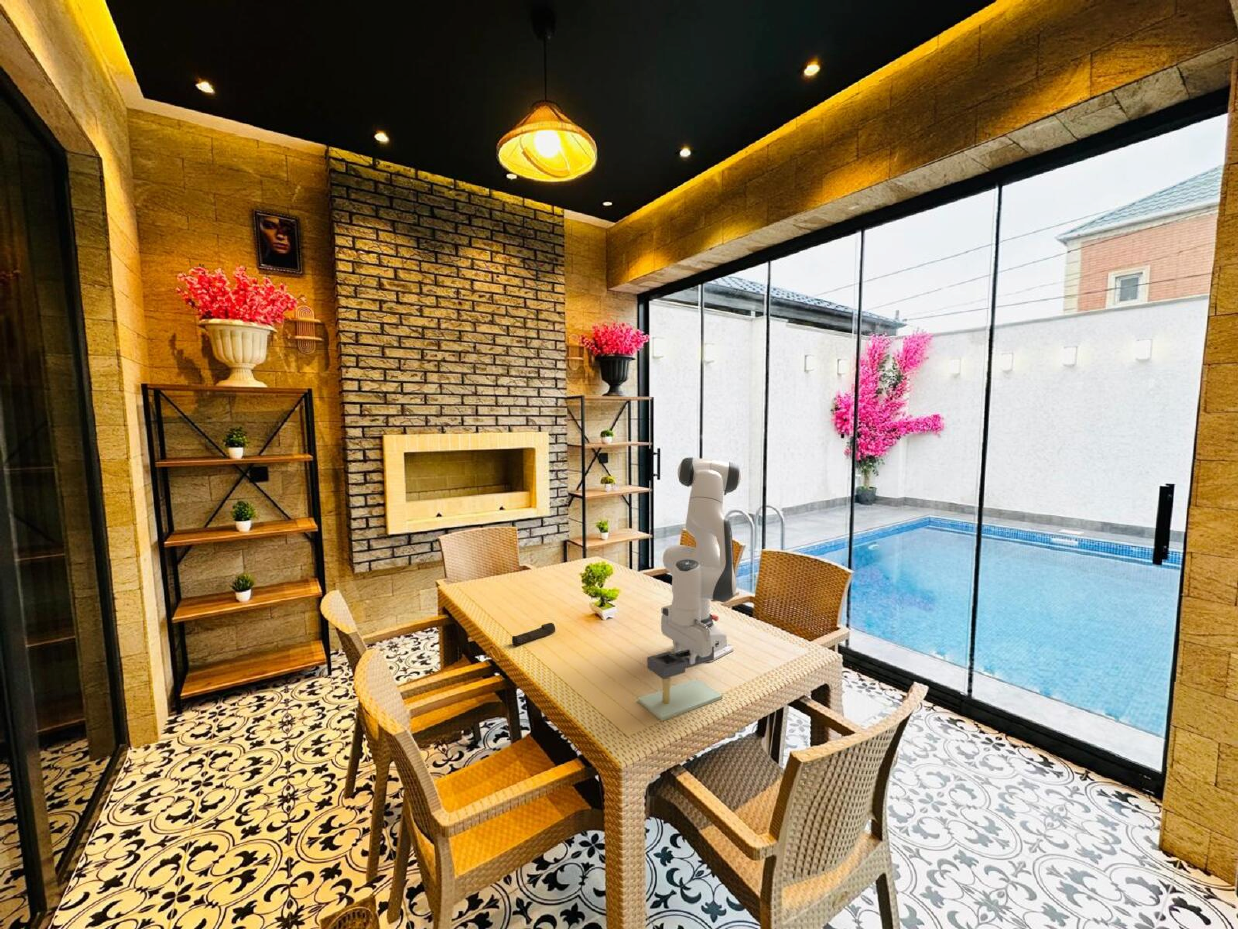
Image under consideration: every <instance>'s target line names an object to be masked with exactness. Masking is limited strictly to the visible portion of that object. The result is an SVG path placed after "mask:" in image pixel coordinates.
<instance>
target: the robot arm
mask: <svg viewBox="0 0 1238 929" xmlns="http://www.w3.org/2000/svg"><path fill="white" fill-rule="evenodd" d="M677 478H678V481H679V483H680V484H681V485H682V486H685V487H688V488H690V487H691V489H690V494H689V500H688V506H687V507H688V508H687V513H686V520H685V521H686V522H685V529H686V531H687V533H688V534H689V535H690V536H691V537H693V538H694V540H695V546H690V545H684V544H675V545H669V546H668V547H667V548H666V549H665V550H664V552H663V555H662V562H663V566H664V568H665V569H666V571H667V572H668V573H669V574H670V575H671V576H672V577H671V578H672V581H671V593H672V601H671V604H668V605H666V606H662V607H661V610H660V613H661V614H662V615H661V617H660V618H661V619H660V630H661V633H662V635H664V636H665V637H667V638H668V639H670V640H672V644H673V648H674V649H673V651H674V653H677V652H680V651H684V650H687V649H688V650H690V654H691V655H690V657H688V661H687V662H688V663H690V664H694V663H695V658H696V656H697V655H699V656H700V657H706V656H709V655H710V654H711V653H712V649H713V650H714V660H712V661H709V662H708V663H711V662H713V661H716V660H717V659H720V658H722V657H723V656H725V655H728V654H730V653H731V652H733V651H734V646H733V645H732V644H731V643H730V642H729V641H728V638H727V635H726V632H725V631H724V630H723V629H721V628H720V627H719V626H718V625H716V623H714V622H718V621H719V615H716V614H712V613H711V612H710V611H711V600H713V601H716V602H720V603H725V604H726V603H727V602H729V601H730V600H732V599H733V598H734V597H735V596H736V592H737V586H738V585H737V578H736V572H735V560H734V558H735V557H734V545H733V544H734V543H733V534H732V533H733V532H732V526H731V522H730V520H729V519H728V518H727V517H725V515H724V512H723V504H724V496H726V495H727V494H729V493H732V492H734V491H736V490H737V488H738V487H739V485H740V483H741V478H742V477H741V471H740V467H739V465H738V464H736V463H733V462H731V461H729V462H727V461H725V460H724V461H723V460H718V459H713V458H711V459H709V458H695V457H692V456H691V457H685V458H683V459H682V460H681V462H680V464H679V465H678V468H677Z"/></svg>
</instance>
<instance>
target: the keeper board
mask: <svg viewBox="0 0 1238 929" xmlns="http://www.w3.org/2000/svg"><path fill="white" fill-rule="evenodd" d="M671 682H672V679H671V677H669V678H666V679H662V678H661V683H662V689H661V690H658V691H655V692H652V693H649V694H645V695H642V696H639V697H637V702H638V703H640V705H642V706H643V707H644V708H646V709H647V710H648V711H649V712H650V713H651V714H653V715H654V716H655V717H656V718H658V719H659V720H660V721H661V722H663V721H666V720H669V719H672V718H674V717H677V716H679V715H682V714H685V713H687V712H690V711H692V710H696V709H698V708H700V707H703V706H706V705H709V704H712V703H714V702H716V701H719V700H723V695H722V694H721V693H719V692H718V691H717V690H715V689H713V688H712V687H711V686H709V685H708V684H706V683H705V682H703V681H702V680H700V679H699V678H694V679H690V680H687V681H685V682H682V683H679V684H675V685H674V686H671Z"/></svg>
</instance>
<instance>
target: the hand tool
mask: <svg viewBox="0 0 1238 929" xmlns="http://www.w3.org/2000/svg"><path fill="white" fill-rule="evenodd" d="M555 632H556V625H555V624H554V623H553V622H548V623H545V624H544V623H543V624H542V625H541V627H539V628H536V629H533V630H530V631H527V632H523V633H521V634H518V635H512V638H511V643H512V645H513V646H515V647H516V648H517V647H518V646H521V645H523V644H525V643H527V642H530V641H534V640H536V639H539V638H542V637H543V638H547V637H549V636H551V635H553V634H555Z"/></svg>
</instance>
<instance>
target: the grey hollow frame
mask: <svg viewBox="0 0 1238 929" xmlns="http://www.w3.org/2000/svg"><path fill="white" fill-rule="evenodd" d="M690 655H691V654H690V650H688V649H687V650H684V651H680V652H677V653H675V652H674V653H673V652H671V651H669V650H668V651H666V652H662V653H661V652H660V653H658V654H655V655H651V656H647V658H646V659H647V660H646V661H647V669H649V671H652V672H653V673H654V674H655V675H657V676H658V677H659V678H660V679H661V680H662V679H666V678H669V677H670V678H671V677H675V676H679V675H681V674H684V673H686V669H688V668H692V667H695V666H698V665H701V664H705V663H710V662H709V661H712V660H714V650H713V649H712V653H711V654H710V655H709V656H706V657H700V656H699V655H697V656H696V658H695V663H694V664H690V663H688V662H687V661H688V657H690ZM714 661H715V660H714ZM712 662H713V661H712Z"/></svg>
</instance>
